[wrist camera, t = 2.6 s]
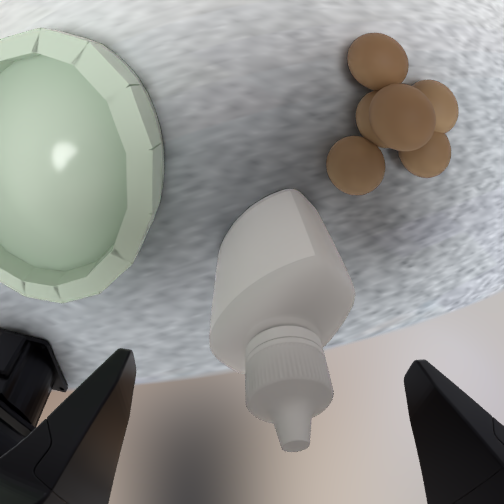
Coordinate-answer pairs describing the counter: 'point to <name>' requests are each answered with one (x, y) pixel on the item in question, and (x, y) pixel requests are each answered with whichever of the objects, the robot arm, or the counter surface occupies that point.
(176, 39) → the counter surface
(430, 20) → the counter surface
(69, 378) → the counter surface
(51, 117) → the sage dish
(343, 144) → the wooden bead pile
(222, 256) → the eye dropper bottle
